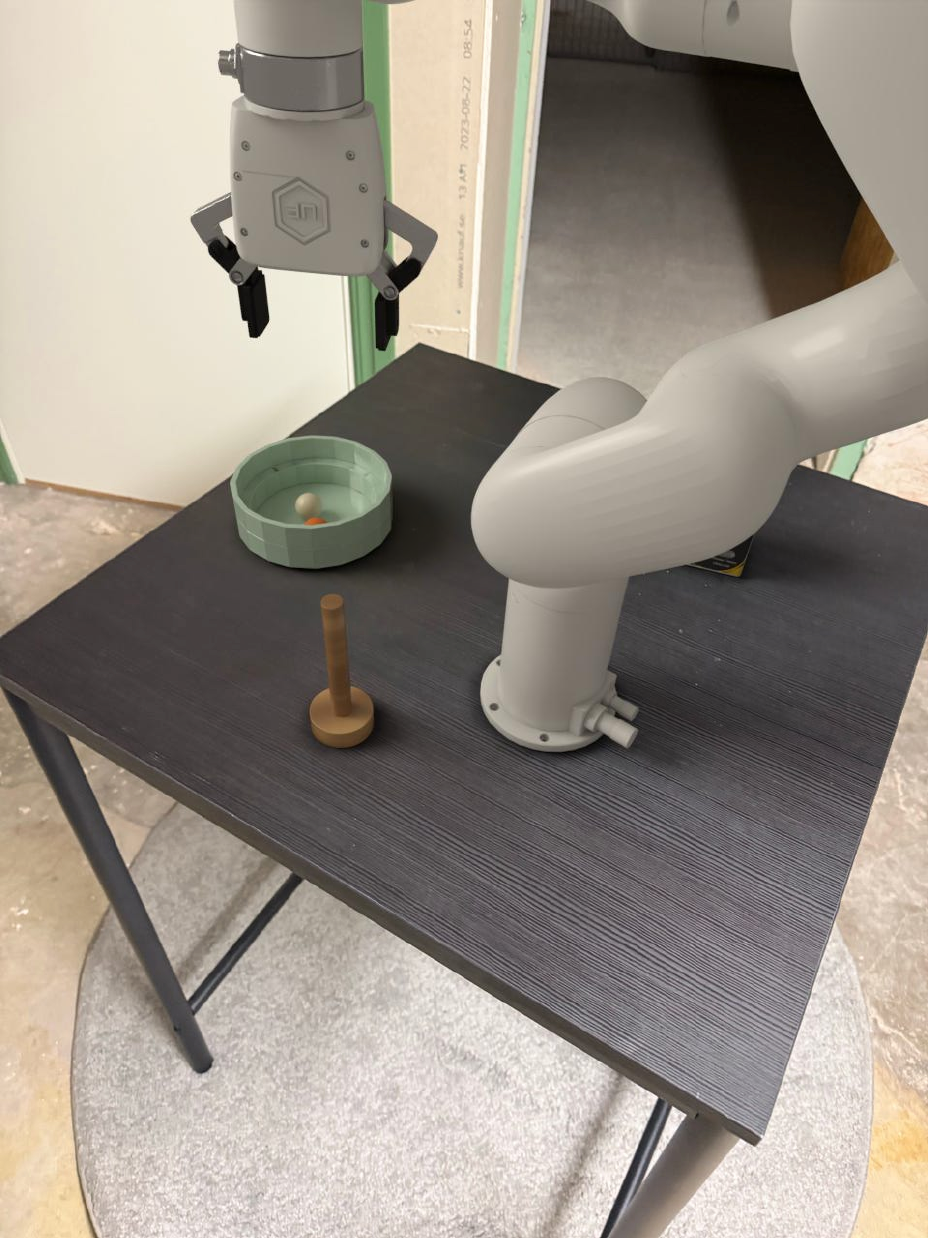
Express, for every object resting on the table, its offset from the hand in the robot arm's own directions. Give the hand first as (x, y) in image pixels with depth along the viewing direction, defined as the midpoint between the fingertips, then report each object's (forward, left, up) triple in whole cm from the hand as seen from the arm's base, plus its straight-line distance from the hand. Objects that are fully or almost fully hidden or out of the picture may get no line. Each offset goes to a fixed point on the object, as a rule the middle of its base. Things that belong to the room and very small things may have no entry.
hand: (321, 336), depth 66 cm
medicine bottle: (-24, -35, -31) cm, 52 cm away
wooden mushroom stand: (-9, +10, -30) cm, 33 cm away
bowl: (+13, -10, -30) cm, 34 cm away
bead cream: (+14, -9, -28) cm, 33 cm away
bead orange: (+10, -7, -28) cm, 31 cm away
